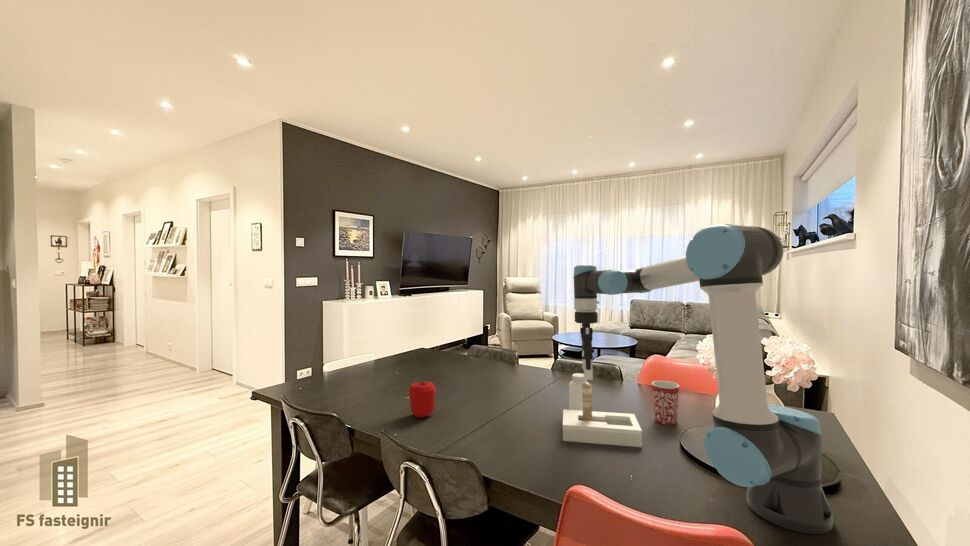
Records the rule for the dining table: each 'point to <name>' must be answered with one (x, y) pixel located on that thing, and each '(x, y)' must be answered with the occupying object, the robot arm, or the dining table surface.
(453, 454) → the dining table surface
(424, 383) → the red cylinder
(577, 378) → the pill bottle
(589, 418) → the peg
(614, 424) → the keyhole board
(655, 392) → the mug
